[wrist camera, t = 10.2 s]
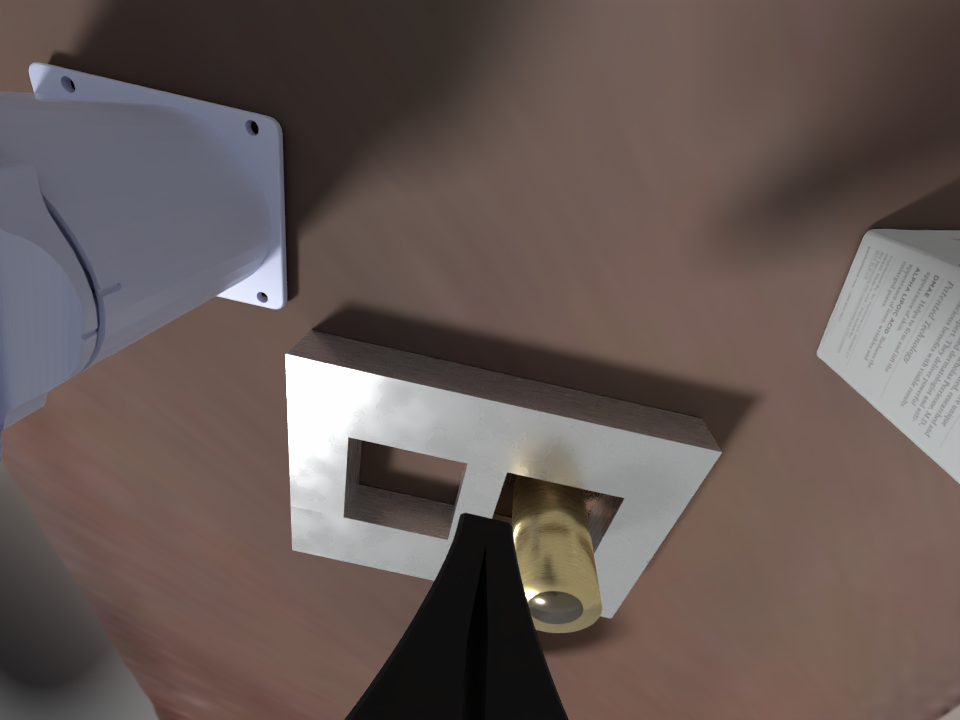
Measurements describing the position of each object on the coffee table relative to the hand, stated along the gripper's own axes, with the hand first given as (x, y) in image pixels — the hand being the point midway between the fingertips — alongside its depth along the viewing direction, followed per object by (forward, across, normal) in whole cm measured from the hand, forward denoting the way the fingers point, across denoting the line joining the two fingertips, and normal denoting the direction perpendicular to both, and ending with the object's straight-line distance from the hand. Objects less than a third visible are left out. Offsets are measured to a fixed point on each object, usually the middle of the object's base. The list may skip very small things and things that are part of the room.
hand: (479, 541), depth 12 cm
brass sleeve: (+10, -4, +8) cm, 14 cm away
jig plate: (+10, 0, +8) cm, 13 cm away
